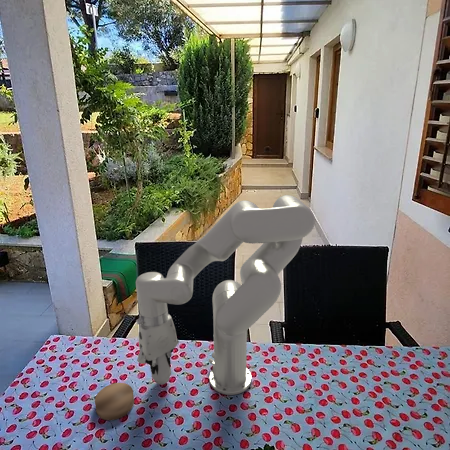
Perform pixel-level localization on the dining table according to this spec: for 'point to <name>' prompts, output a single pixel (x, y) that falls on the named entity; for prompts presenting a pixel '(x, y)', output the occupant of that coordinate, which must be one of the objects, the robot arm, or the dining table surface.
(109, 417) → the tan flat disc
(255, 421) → the dining table surface
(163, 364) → the salt shaker
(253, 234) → the robot arm
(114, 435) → the dining table surface
